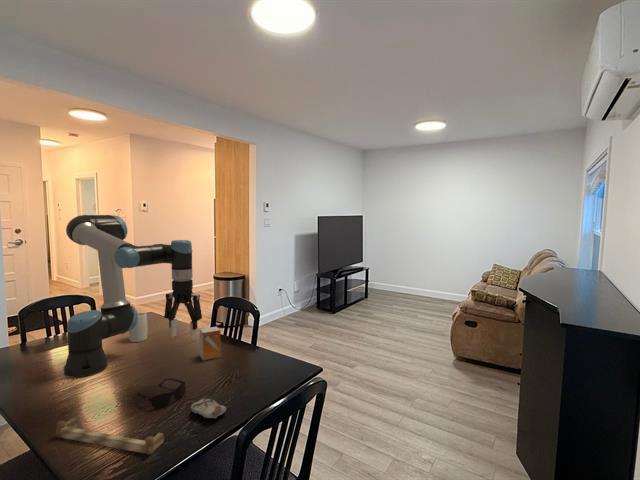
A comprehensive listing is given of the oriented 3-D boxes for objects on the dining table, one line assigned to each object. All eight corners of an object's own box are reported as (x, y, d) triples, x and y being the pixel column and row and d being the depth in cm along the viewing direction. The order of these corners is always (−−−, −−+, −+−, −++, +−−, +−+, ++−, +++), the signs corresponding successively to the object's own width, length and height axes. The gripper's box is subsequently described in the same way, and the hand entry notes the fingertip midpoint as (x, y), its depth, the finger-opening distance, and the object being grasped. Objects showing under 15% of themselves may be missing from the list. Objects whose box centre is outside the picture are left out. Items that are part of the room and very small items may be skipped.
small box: (203, 361, 154) (202, 332, 153) (199, 356, 159) (199, 329, 158) (220, 357, 159) (220, 329, 158) (216, 352, 164) (216, 326, 163)
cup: (142, 344, 173) (141, 317, 172) (125, 344, 173) (124, 317, 172) (150, 338, 181) (150, 312, 180) (135, 338, 181) (134, 312, 180)
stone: (184, 412, 113) (184, 402, 113) (207, 402, 120) (207, 392, 120) (208, 424, 106) (208, 414, 106) (230, 412, 114) (231, 402, 114)
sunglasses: (155, 413, 114) (154, 398, 114) (129, 399, 122) (129, 385, 122) (190, 395, 125) (189, 382, 125) (164, 383, 134) (164, 371, 133)
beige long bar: (55, 437, 101) (54, 424, 100) (73, 425, 106) (72, 413, 106) (150, 455, 93) (150, 441, 93) (164, 441, 99) (164, 428, 99)
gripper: (152, 280, 132) (154, 337, 133) (200, 282, 127) (201, 342, 129) (165, 276, 139) (166, 331, 141) (211, 279, 135) (212, 335, 136)
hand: (183, 336), depth 135 cm, fingers open, 8 cm apart
